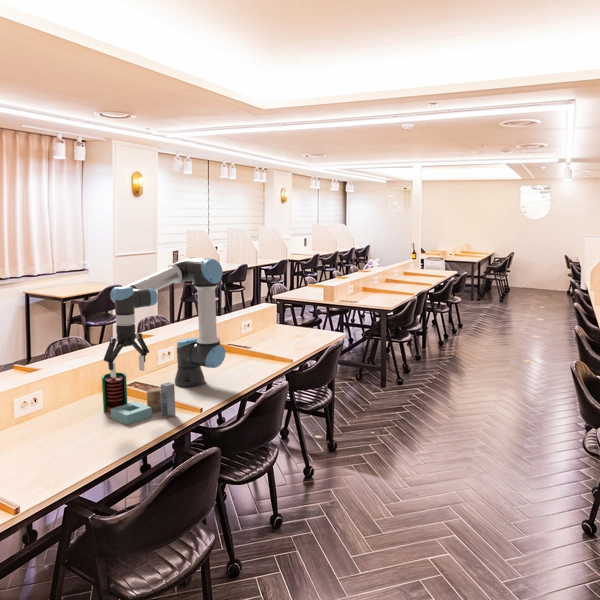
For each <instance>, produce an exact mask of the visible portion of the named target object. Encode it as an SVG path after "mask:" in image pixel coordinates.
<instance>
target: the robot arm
mask: <svg viewBox="0 0 600 600" xmlns="http://www.w3.org/2000/svg"><path fill="white" fill-rule="evenodd" d="M222 278H223V267H222V265H221V263H220V262H219V261H218V260H217V259H214V258H210V257H187V258H184V259H181V260H178V261H176V262H174V263H171V264H169V265H168V267H167V268H165V269H163V270H161V271H158V272H156V273H153V274H151V275H149V276H146V277H144V278H142V279H141V278H140V280H137V281H135V282H132V283H130V284H127V285H125V286H115V287H113V288H112V289H111V291H110V293H109V295H110V297H109V298H110V300H111V301H112V302H113V303H114V309H115V324H116V326H115V328H116V330H115V331H116V337H110V338H109V344H108V346H107V349H106V352H105V354H104V356H103V357H104V358H103V362H107V365H108V370H109V371H110V373H111V377H113V378H116V372H117V371H116V370H117V369H116V361H115V360H116V358H117V357H118V355H119V354H120V352H121V350H122V349H123V348H125V347H130V346H131V347H133V348H134V350H136V351H137V352H138V354H139V355H138V370H139V371H142V372H144V371H145V363H146V356H147V354H149V353H150V350H149V348H148V346H147V345H146V342H145V341H144V338H143V334H142V333H140V332H136V324H135V323H136V319H135V318H136V317H135V316H136V315H135V309H139V308H145V307H151V306H155V305H156V304H157V303H158V300H159V298H158V293H157V291H158V290H161V289H164V288H165V287H168V286H170V285H172V284H179V283H182V282H193V287H194V288H195V289H196V290H197V293H196V294H197V311H198V312H197V316H198V318H197V319H198V337H187V338H183V339H180V340H178V341H177V343H176V355H177V356H176V362H177V370H176V373H175V378H174V386H177V387H181V388H186V387H187V388H191V387H198V386H202V385H204V383H205V380H206V379H205V375H204V373H203V370H202V367H205V368H209V369H210V368H212V369H217V368H218V367H220V366H221V365H222V364H223V363H224V361H225V358H226V349H225V347H224V346H223V345H222V344H221V340H220V337H218V333H217V332H218V331H217V330H218V329H217V311H216V308H217V306H216V304H217V303H216V288H218V286H219V283H220V282H221V280H222ZM135 340H137V341H135ZM137 342H138V343H139V344H138V343H137Z"/></svg>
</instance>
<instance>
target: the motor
mask: <svg viewBox="0 0 600 600" xmlns="http://www.w3.org/2000/svg"><path fill="white" fill-rule="evenodd" d="M127 385H128V384H127V374H126V373H124V372H122V371H121V372H120V371H119V372H117V371H116V378H113V377H111V372H108V373H105V374H103V375H102V376H101V389H102V406H103V407H102V408H103V412H104V413H110V414H111V409H112V408H115V407H119V406H122V405H125V404H128V390H127V389H128V388H127V387H128V386H127Z"/></svg>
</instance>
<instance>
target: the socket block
mask: <svg viewBox="0 0 600 600" xmlns="http://www.w3.org/2000/svg"><path fill="white" fill-rule="evenodd" d="M127 403H128V402H127ZM152 414H153V413H152V407H149V406H147V404H143V403H140V402H137V401H132V402H129V403H128V404H125V405H122V406H119V407H115V408H112V409H111V413H110V419H113V420H115V421H117V422H120V423H123V424H125V425H130V424H134V423H136V422H139V421H142V420H145V419H149V418H152V417H153V415H152Z"/></svg>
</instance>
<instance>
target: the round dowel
mask: <svg viewBox="0 0 600 600" xmlns="http://www.w3.org/2000/svg"><path fill="white" fill-rule="evenodd" d="M146 403H147V404H146V406H149V407H152V414H157V413H160V412H162V404H161V388H151V389H148V390H146Z"/></svg>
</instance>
